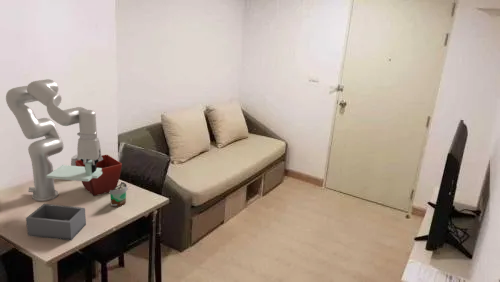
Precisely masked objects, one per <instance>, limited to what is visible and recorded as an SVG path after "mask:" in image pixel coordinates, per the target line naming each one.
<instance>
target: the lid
mask: <svg viewBox="0 0 500 282" xmlns="http://www.w3.org/2000/svg"><path fill="white" fill-rule="evenodd" d="M101 170H102V168H97V169H96V171H95V172H94V173H92V160H89V161H88V162H87V163H85V167H81V166H71V165H70V164H69V165H67V164H66V165H65V164H61V165H60V166H59V167H57V168H56V169H53V172H51V173H50V174H48V175H47V178H53V179H54V180H55V179H56V180H66V181H75V182H76V181H77V182H82V181H90V180H91V179H92V178H98V177H99V176H101V175H102V171H101Z"/></svg>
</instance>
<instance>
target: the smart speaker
mask: <svg viewBox="0 0 500 282" xmlns="http://www.w3.org/2000/svg"><path fill="white" fill-rule="evenodd" d="M77 156H78V154H77V153H76V154H75V155H73V156H72V157H71V160H70V166H76V163H75V161H77V160H79V159H78V158H77Z"/></svg>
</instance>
